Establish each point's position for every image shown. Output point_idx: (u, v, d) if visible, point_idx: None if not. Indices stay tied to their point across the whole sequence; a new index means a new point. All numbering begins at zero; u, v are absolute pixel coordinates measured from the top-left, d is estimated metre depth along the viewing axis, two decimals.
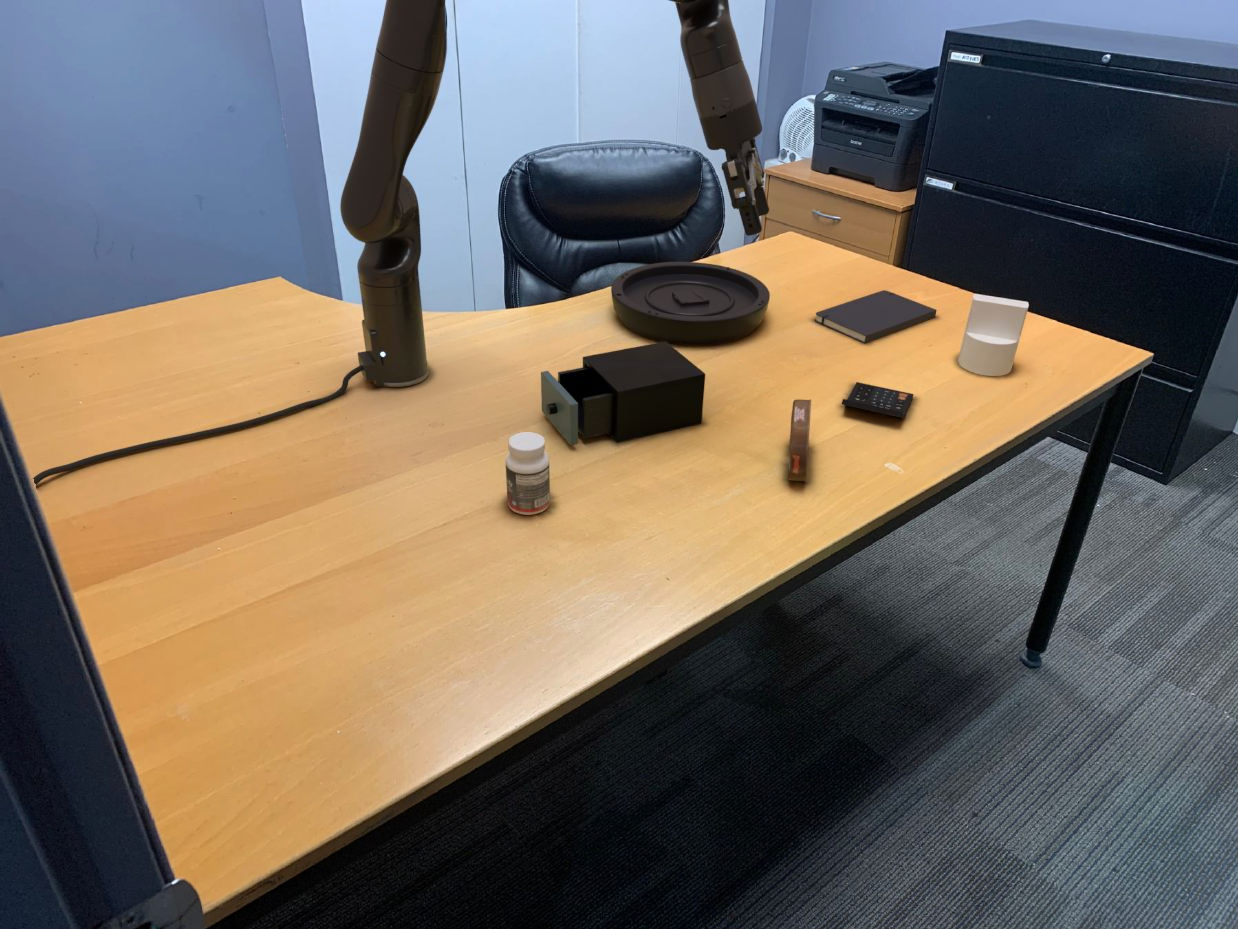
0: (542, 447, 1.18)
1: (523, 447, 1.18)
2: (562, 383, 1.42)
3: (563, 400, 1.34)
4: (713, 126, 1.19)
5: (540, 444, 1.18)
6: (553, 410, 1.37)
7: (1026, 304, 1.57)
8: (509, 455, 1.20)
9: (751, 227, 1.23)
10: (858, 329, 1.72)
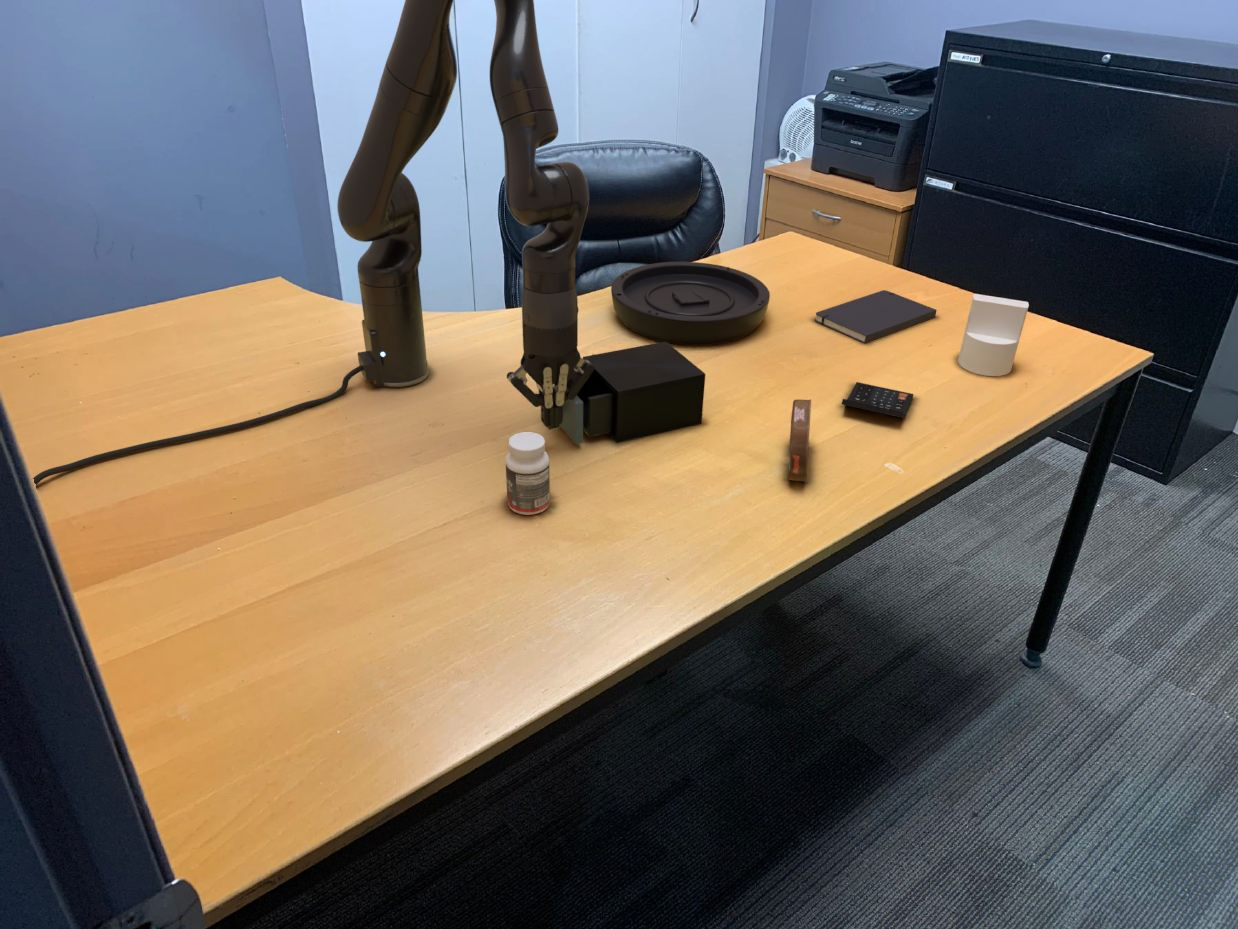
0: (542, 447, 1.18)
1: (523, 447, 1.18)
2: None
3: None
4: (522, 326, 1.27)
5: (540, 444, 1.18)
6: None
7: (1026, 304, 1.57)
8: (509, 455, 1.20)
9: (543, 421, 1.34)
10: (858, 329, 1.72)
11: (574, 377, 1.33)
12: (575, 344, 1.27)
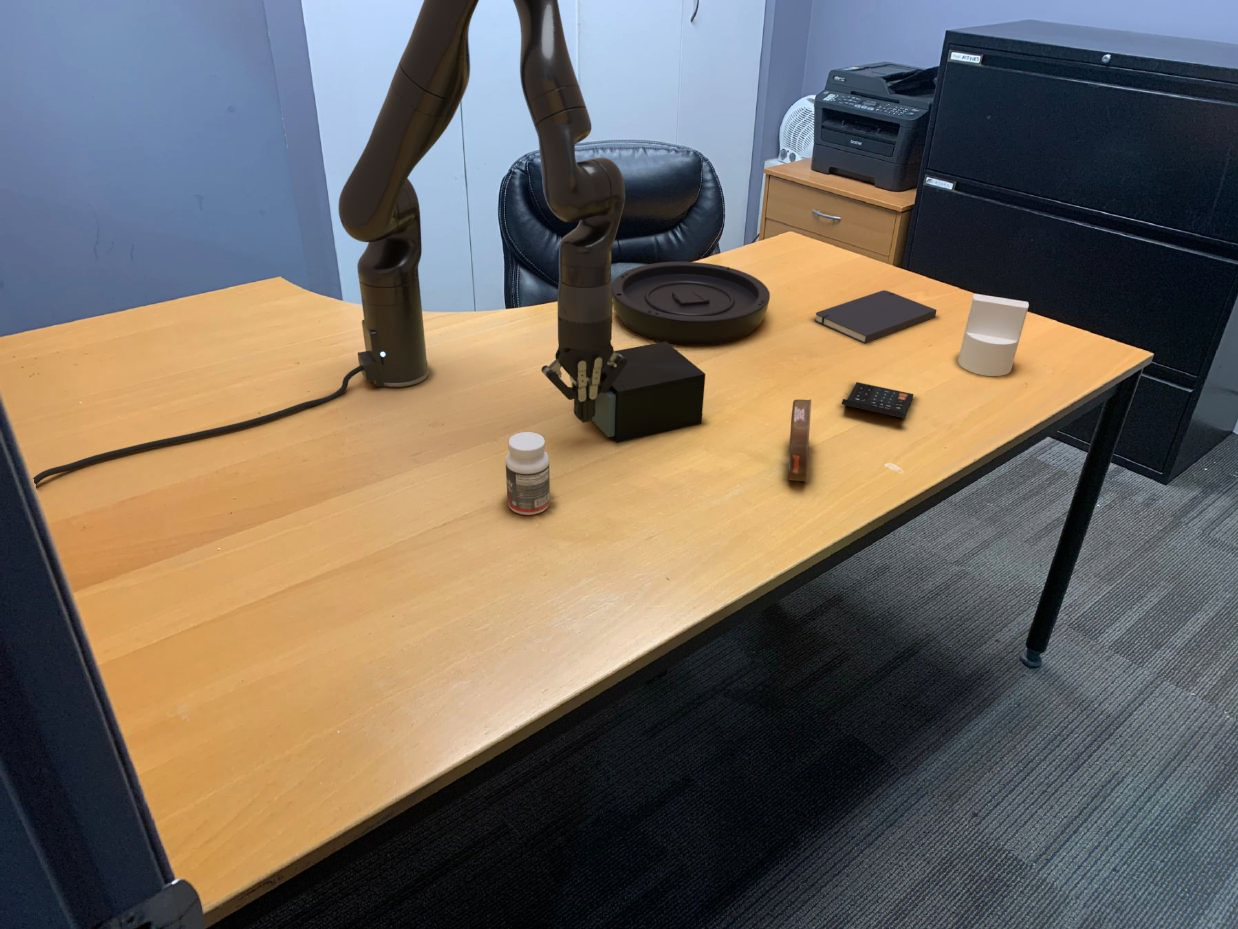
0: (542, 447, 1.18)
1: (523, 447, 1.18)
2: None
3: None
4: None
5: (540, 444, 1.18)
6: None
7: (1026, 304, 1.57)
8: (509, 455, 1.20)
9: (576, 414, 1.36)
10: (858, 329, 1.72)
11: (607, 371, 1.34)
12: (609, 338, 1.29)
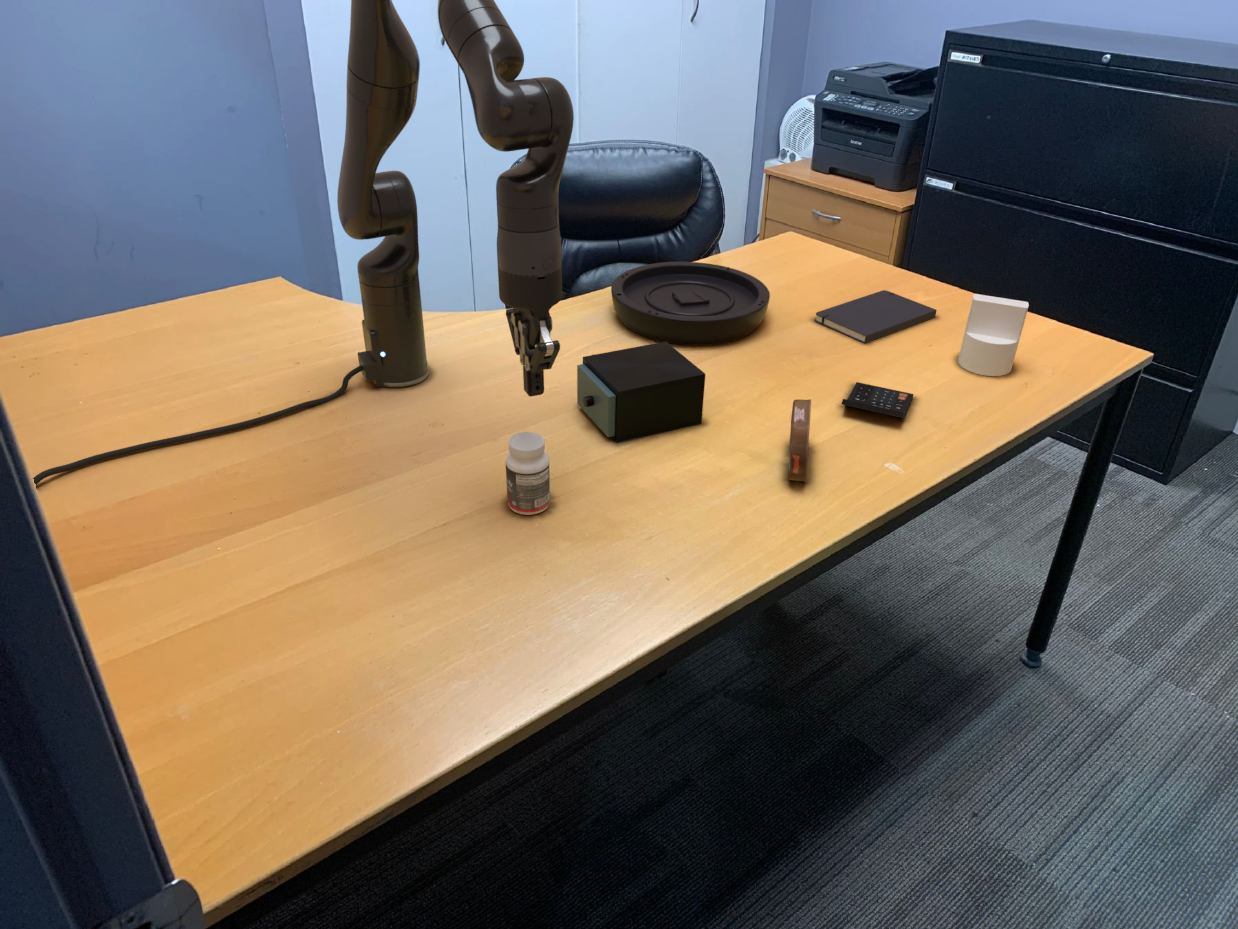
0: (542, 447, 1.18)
1: (523, 447, 1.18)
2: None
3: (601, 392, 1.36)
4: (527, 286, 1.07)
5: (540, 444, 1.18)
6: (590, 402, 1.40)
7: (1026, 304, 1.57)
8: (509, 455, 1.20)
9: (537, 389, 1.16)
10: (858, 329, 1.72)
11: None
12: None
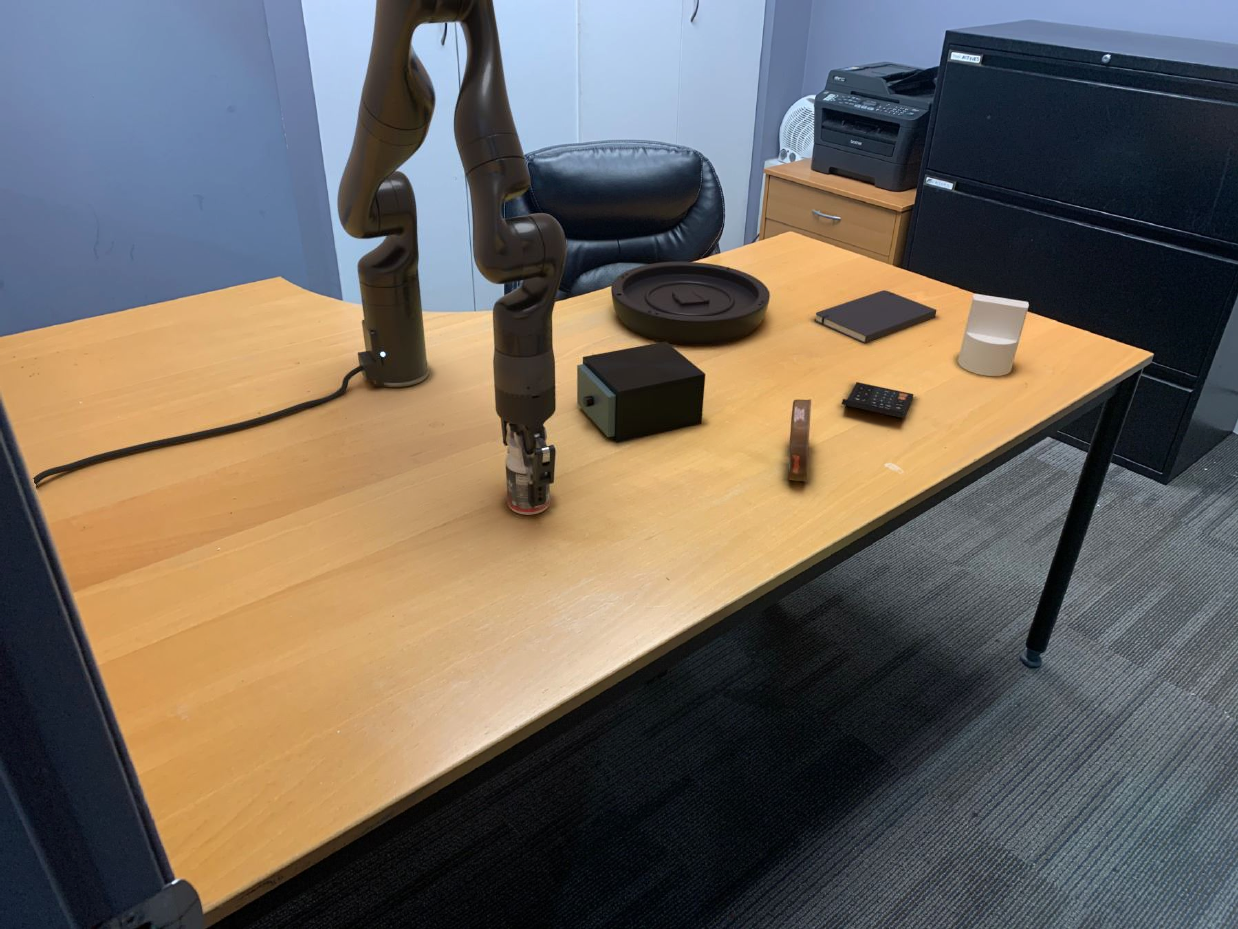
0: None
1: None
2: None
3: (601, 392, 1.36)
4: (522, 404, 1.12)
5: None
6: (590, 402, 1.40)
7: (1026, 304, 1.57)
8: (509, 455, 1.20)
9: (539, 500, 1.20)
10: (858, 329, 1.72)
11: None
12: None
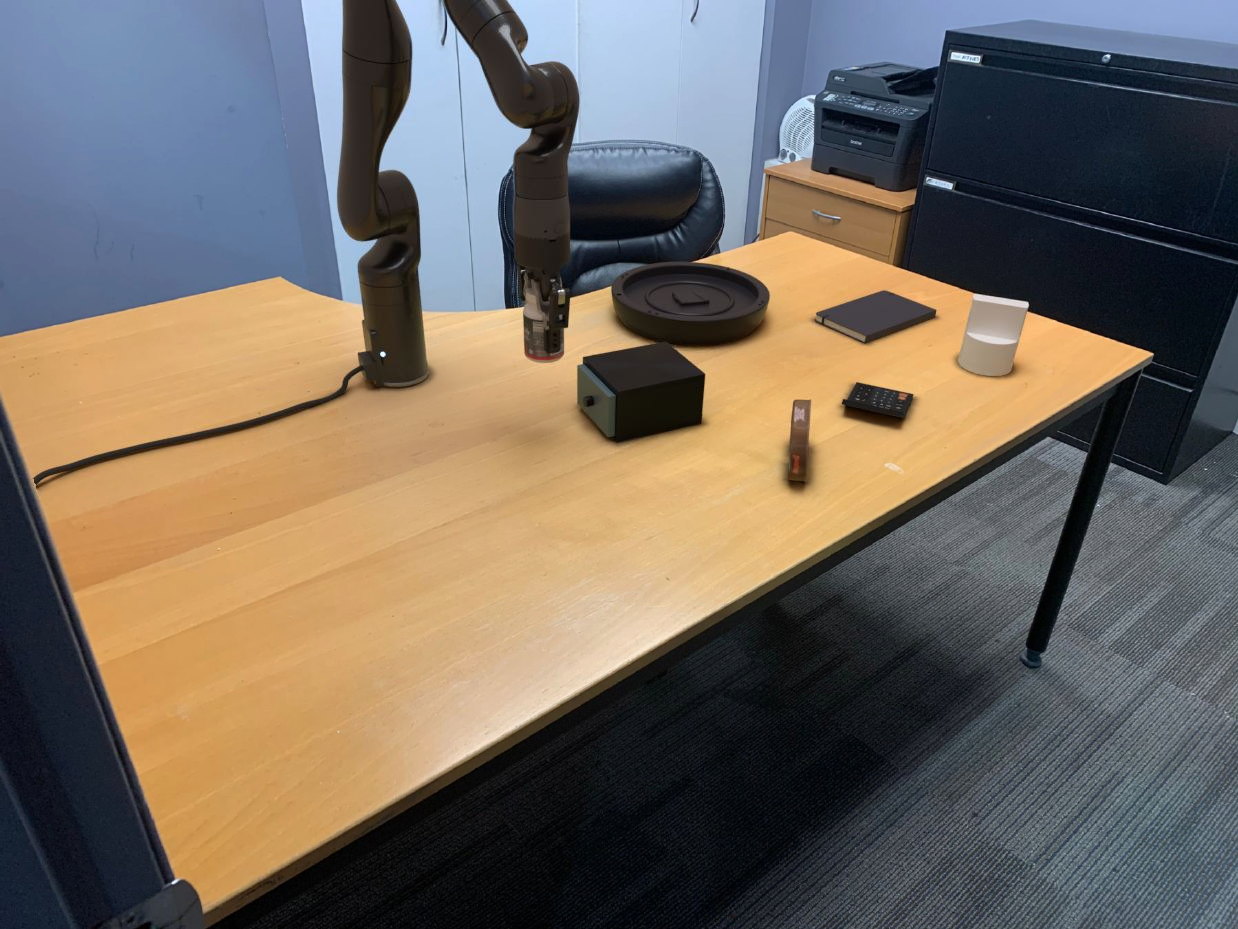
0: None
1: None
2: None
3: (601, 392, 1.36)
4: (539, 248, 1.21)
5: None
6: (590, 402, 1.40)
7: (1026, 304, 1.57)
8: (526, 305, 1.29)
9: (554, 347, 1.28)
10: (858, 329, 1.72)
11: None
12: None
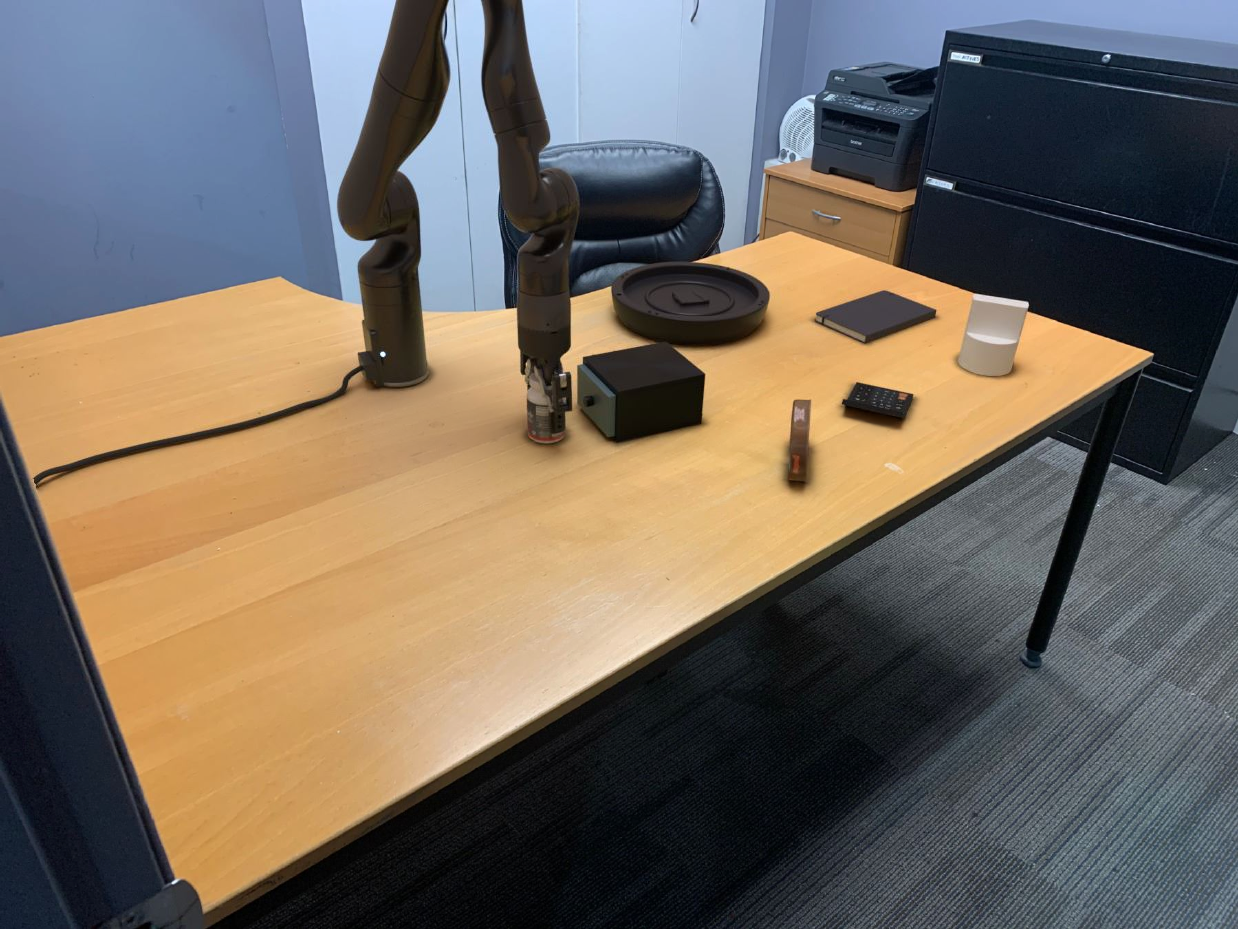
0: None
1: None
2: None
3: (601, 392, 1.36)
4: (542, 339, 1.27)
5: None
6: (590, 402, 1.40)
7: (1026, 304, 1.57)
8: (530, 389, 1.36)
9: (559, 428, 1.34)
10: (858, 329, 1.72)
11: (530, 358, 1.39)
12: None
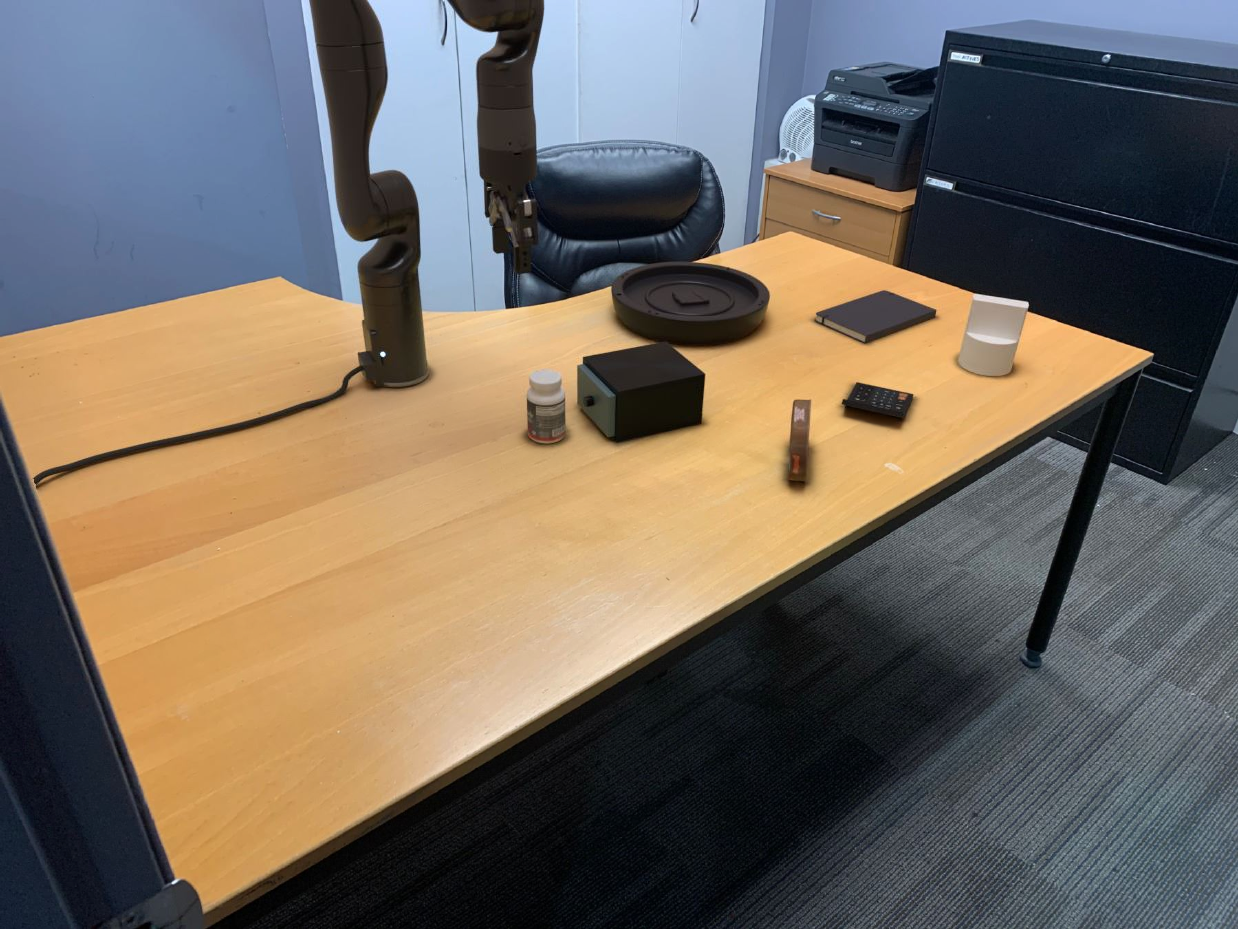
0: (559, 381, 1.34)
1: (542, 381, 1.33)
2: None
3: (601, 392, 1.36)
4: (504, 161, 1.17)
5: (557, 379, 1.34)
6: (590, 402, 1.40)
7: (1026, 304, 1.57)
8: (530, 389, 1.36)
9: (525, 266, 1.23)
10: (858, 329, 1.72)
11: None
12: None
